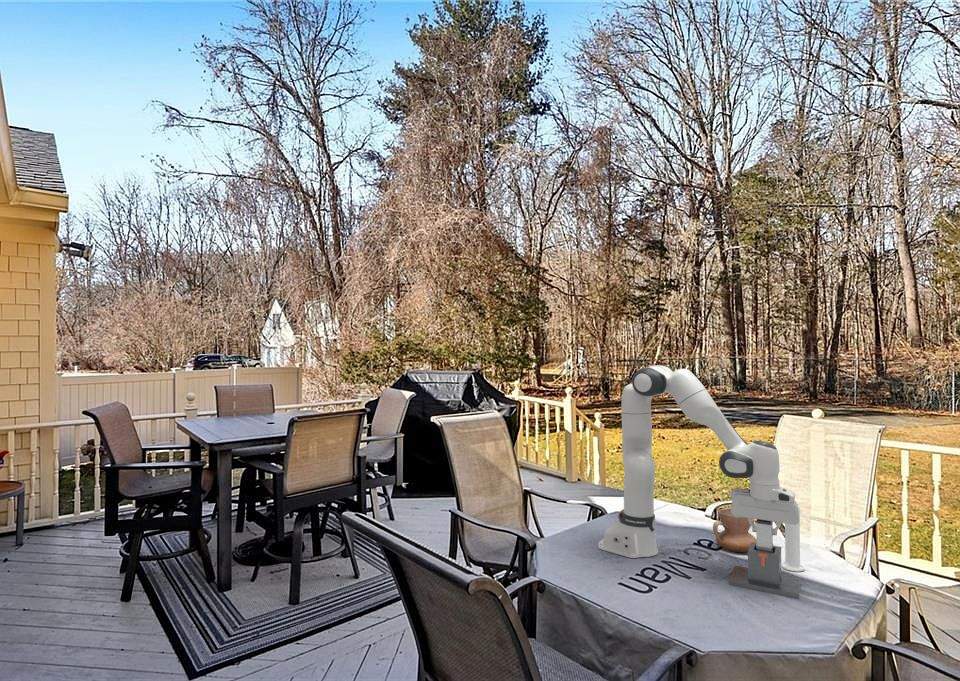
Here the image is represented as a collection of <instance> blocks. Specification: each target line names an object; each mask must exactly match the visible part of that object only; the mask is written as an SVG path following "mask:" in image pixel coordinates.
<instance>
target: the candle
mask: <svg viewBox="0 0 960 681" xmlns="http://www.w3.org/2000/svg"><path fill="white" fill-rule="evenodd" d="M798 508H799V516H800V515H801V514H800V511H801V510H800V506H799V505H798ZM800 527H801V523H800V522H799V523H798V524H797V525H792V524H786V523H784V528H785V529H784V533H785V534H784V538H785V540H784V541H785V542H784V544H785V545H784V546H785V548H784V551H785V554H784V556H785V557H784V559H785V562H781V569H783V568H784V570H785V569H786V570H785V571H788V570H789V572H792V571H795V572H794V573H801V572H804V571H805V567H804V565H802V564H801V537H800V536H801V528H800Z"/></svg>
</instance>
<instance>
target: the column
mask: <svg viewBox="0 0 960 681" xmlns="http://www.w3.org/2000/svg"><path fill="white" fill-rule="evenodd" d="M755 523H756V525H755V526H756V532H755V534H756V540H757V545H756V548H757V550H758V551H764V552H770V553H773V546H774V540H773V539H774V535H772V528H773V527H774V526H773V525H774V524H773V523H774V522H772V521H765V520H759V519H757V521H756V522H755ZM773 529H774V528H773Z"/></svg>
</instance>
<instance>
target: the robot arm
mask: <svg viewBox="0 0 960 681" xmlns="http://www.w3.org/2000/svg"><path fill="white" fill-rule="evenodd" d="M663 394H669V395H670V396H671V397H672V398H673V400H674V401H675V402H676V404H677V406H678V407H679V408H680V410H681V411H682V413H683V414H684V415H685V416H686V417H687V418H688V419H689V420H690V421H691V422H694V423H698V424H701V425H703V426H705V427H707V428H709V429H711V430H712V432H713V433H714V434H715V435H716V436H717V438H718V439H719V440H720V441H721V443H722V444H723V446H724V447H725V449H726V451H725V452H723V453H722V454H721V455H720V456H719V460H718V466H719V468H720V471H721V472H722V473H723V474H724V475H725V476H726V477H728V478H731V479H747V478H748V479H749V488H739V487H735V488H733V489H731V490H730V493H729V495H730V500H731V505H730V506H731V507H730V508H731V513H732V515H733V516H738V517H745V518H748V521H749V523H750V525H751V532H753V533H756V525H755V522H753V520H754V519H759V520H765V521H772V522H773V523H775V526H776V527H774V528H772V535H773V536H775V537H776V536H778V530H779V529H780V527H781V526H782V524H785V523H786V524H792V525H797V524H798V523H799V522H800V521H801V520H800V518H801V517H800V516H799V508H800V507H799V508H798V506H799V504H798V502H797V501H796V494H795V492H794V491H792V490H791V489H790V490H789V489H787V488H786V487H785V488H784V487H782V486H780V484H781V482H780V480H779V474H780V457H779V456H780V455H779V450H778V449H777V447H776V446H775V445H774V444H772V443H770V442H767V441H764V440H763V441H762V440H753V441H751V442H750V443H748V442H746V441H745V440H744V439H743V438H742V436H741V435H740V434H739V433H738V431H737V430H736V428H734V426H733V425H732V424H731V422H730V421H729V419H727V417H726V416H725V415H724V414H723V413H722V411H721V409H720V407H719V406H718V405H717V403H716V402H715V401H714V399H713V398H712V396H711V395H710V393H709V391H708V390H707V389H706V387H705V385H704V384H703V383H702V382H701V380H700V379H699V378H697V376H696V375H695V374H694V373H693V372H692V371H691V370H689V369H687V368H679V369H676V370H675V369H673V367H670V366H669V365H664V364H660V365H658V364H655V365H650V366H646V367H642V368H640V369H637V371H636V372H635V373H634V374H633V376H632V378H631V383H629V384H627V385H625V386H624V387H623V389H622V396H621V405H620V406H621V408H620V409H621V410H620V411H621V430H622V433H621V434H622V435H621V436H622V437H621V439H622V444H621V445H622V448H621V449H622V450H621V451H622V463H623V469H624V474H623V475H624V476H623V478H624V479H623V480H624V481H623V482H624V483H623V485H624V486H623V508H622V509H621V510H620V512H619V513H618V515H617V519H618V521H617V522H615V523H613V524H612V525H610V526H609V527H607V529H606V530H605V532H604V535H603V538H602V539H600V540H599V542H598V543H597V548H598V549H599V550H602V551H605V552H609V553H611V554H615V555H619V556H622V557H626V558H630V559H638V558H648V557H650V558H651V557H654V556H656V555H658V554H659V553H660V552H659V549H658V545H657V540H656V532H655V530H656V516H655V513H654V512H655V511H654V510H655V509H654V507H655V505H654V503H655V502H654V501H655V500H654V497H655V496H654V492H655V478H656V464H655V461H654V459H653V454H652V445H653V444H652V439H653V438H652V437H653V426H652V424H653V423H652V399H653V398H654V397H655V396H661V395H663Z"/></svg>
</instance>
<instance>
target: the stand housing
mask: <svg viewBox="0 0 960 681" xmlns="http://www.w3.org/2000/svg"><path fill="white" fill-rule="evenodd" d="M756 545H757V543H755V542H751V544H750V547H749V549H748V552H747V567H746V566H745V567H744V566H739V565H734V567H733V570H732V572H731V573H730V576H729V578H728V585H730V586H733V587H738V586H739V588H743V589H745V588H746V589H748V590H753V589H754V591H759V592H763V593H769V594H773V595H778V596H782V597H783V596H784V597H787V598H793V599H799V598H800V590H801V584H802V577H799V576H793V575H788V574H782V567H781V564H782V546H778V545H777V546H776V545H773V553H770V552H764V551H758V550H757V548H756Z"/></svg>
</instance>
